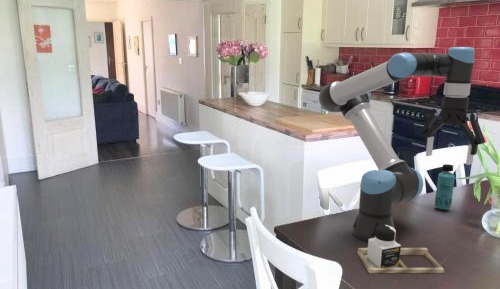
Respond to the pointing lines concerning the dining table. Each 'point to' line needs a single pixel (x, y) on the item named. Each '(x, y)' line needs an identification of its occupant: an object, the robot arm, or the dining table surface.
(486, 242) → the dining table surface
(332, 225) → the dining table surface
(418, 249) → the wooden divided tray
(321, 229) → the dining table surface
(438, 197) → the beverage bottle
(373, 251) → the medicine bottle
